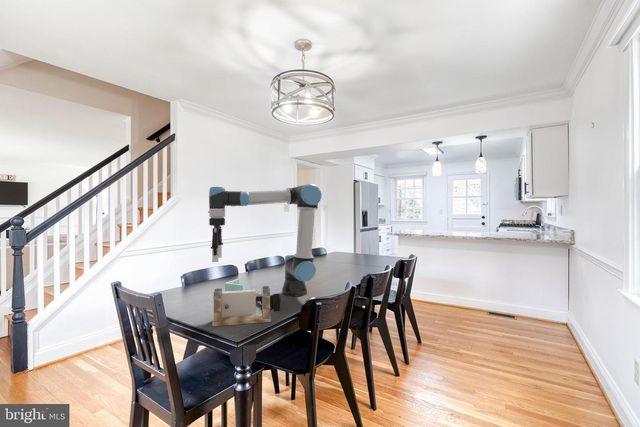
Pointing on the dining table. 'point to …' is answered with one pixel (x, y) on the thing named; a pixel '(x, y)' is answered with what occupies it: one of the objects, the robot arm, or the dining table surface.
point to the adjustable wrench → (272, 301)
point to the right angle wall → (233, 286)
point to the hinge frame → (235, 320)
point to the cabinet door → (239, 303)
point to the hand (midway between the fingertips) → (217, 259)
